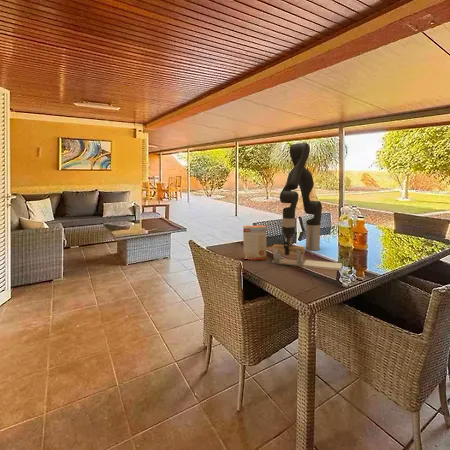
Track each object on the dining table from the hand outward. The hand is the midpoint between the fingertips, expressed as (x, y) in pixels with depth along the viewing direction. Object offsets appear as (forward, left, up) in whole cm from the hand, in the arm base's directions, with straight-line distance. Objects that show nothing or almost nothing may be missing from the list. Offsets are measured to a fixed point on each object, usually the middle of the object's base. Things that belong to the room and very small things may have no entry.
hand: (288, 253), depth 177 cm
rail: (0, 0, 0) cm, 0 cm away
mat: (0, +20, -6) cm, 20 cm away
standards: (0, 0, -6) cm, 6 cm away
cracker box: (-1, -21, -6) cm, 22 cm away
